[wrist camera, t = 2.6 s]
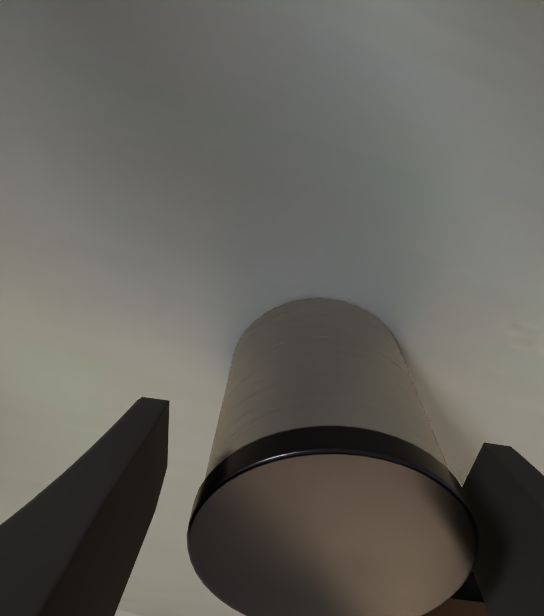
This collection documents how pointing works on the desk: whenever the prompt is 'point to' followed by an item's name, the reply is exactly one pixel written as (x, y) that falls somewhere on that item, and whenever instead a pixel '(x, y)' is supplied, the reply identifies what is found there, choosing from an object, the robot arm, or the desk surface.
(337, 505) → the spice tin
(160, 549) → the desk surface
